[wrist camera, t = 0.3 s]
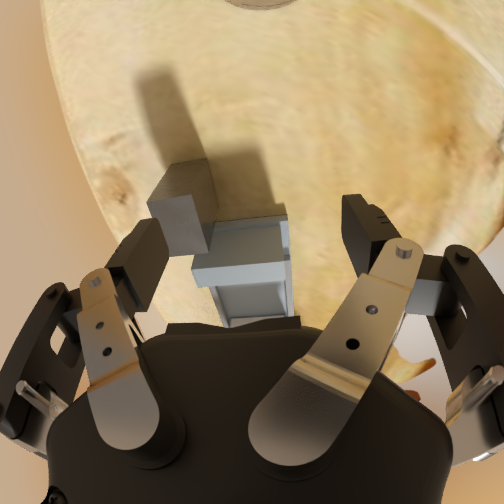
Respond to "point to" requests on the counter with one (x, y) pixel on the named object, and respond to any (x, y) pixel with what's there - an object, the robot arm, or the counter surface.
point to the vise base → (248, 268)
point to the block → (186, 207)
